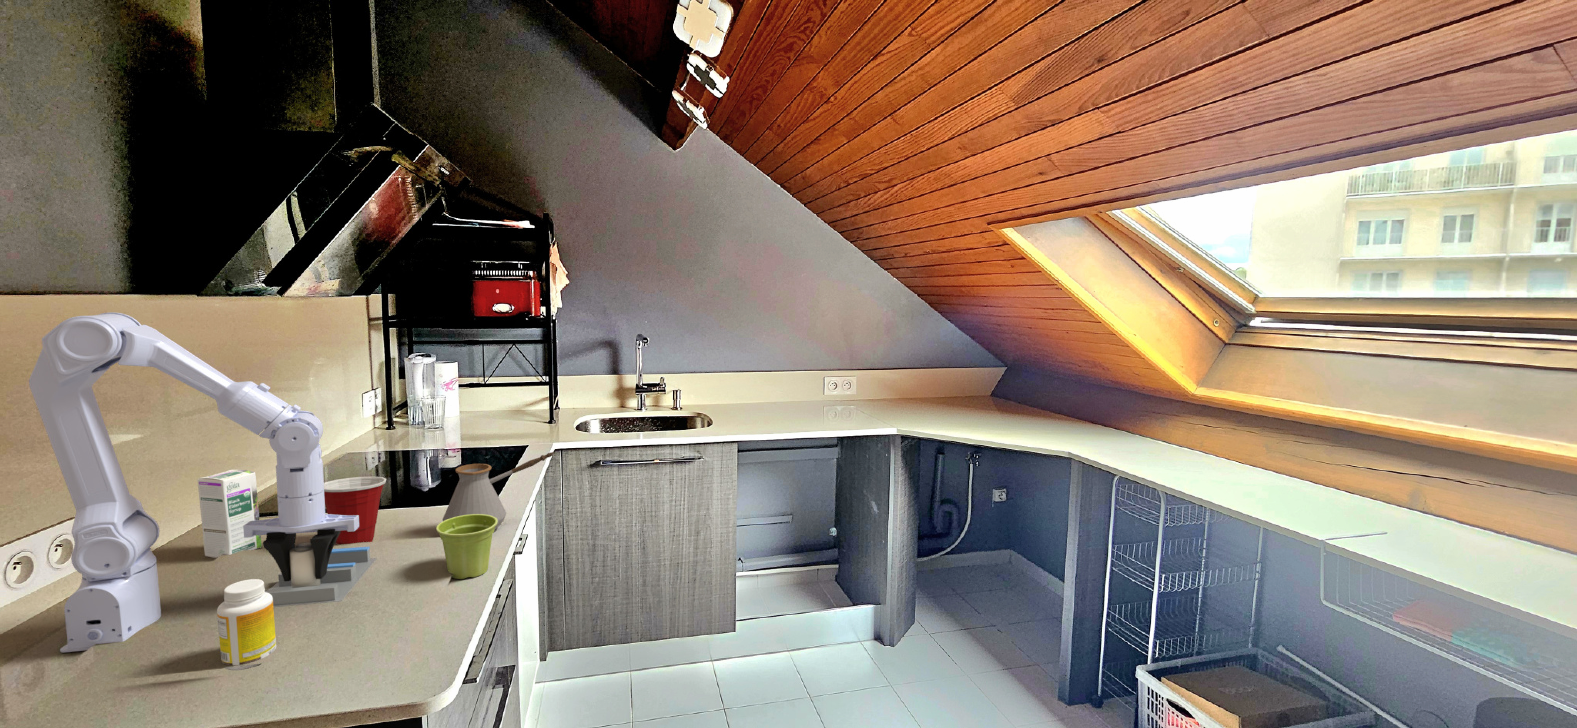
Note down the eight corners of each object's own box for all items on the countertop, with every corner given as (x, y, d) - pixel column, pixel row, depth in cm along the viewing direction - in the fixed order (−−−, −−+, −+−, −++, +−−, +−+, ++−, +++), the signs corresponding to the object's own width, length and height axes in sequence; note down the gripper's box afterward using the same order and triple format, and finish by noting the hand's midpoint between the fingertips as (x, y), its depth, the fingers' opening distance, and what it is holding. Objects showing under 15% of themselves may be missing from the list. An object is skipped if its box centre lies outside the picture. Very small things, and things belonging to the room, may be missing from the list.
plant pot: (510, 564, 115) (509, 517, 114) (471, 588, 106) (469, 537, 105) (466, 557, 118) (465, 511, 117) (424, 579, 109) (422, 529, 108)
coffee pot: (440, 544, 123) (437, 467, 121) (445, 523, 133) (443, 452, 131) (559, 530, 131) (558, 458, 129) (555, 512, 142) (554, 445, 140)
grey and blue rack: (341, 607, 99) (340, 586, 98) (248, 615, 96) (246, 594, 95) (377, 563, 114) (376, 545, 114) (298, 568, 111) (297, 550, 110)
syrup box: (230, 560, 113) (224, 479, 112) (203, 556, 115) (196, 476, 113) (262, 547, 119) (257, 470, 117) (236, 544, 120) (230, 468, 118)
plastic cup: (396, 529, 129) (393, 470, 128) (380, 550, 119) (377, 487, 118) (332, 533, 126) (329, 474, 125) (310, 556, 116) (306, 491, 114)
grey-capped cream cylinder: (314, 590, 99) (312, 549, 99) (287, 592, 98) (284, 550, 98) (324, 579, 103) (322, 539, 102) (298, 581, 102) (295, 541, 101)
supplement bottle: (286, 647, 88) (282, 575, 87) (257, 671, 82) (252, 595, 81) (242, 648, 87) (236, 576, 86) (209, 673, 82) (203, 596, 80)
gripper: (364, 482, 105) (368, 562, 106) (258, 486, 101) (263, 570, 102) (347, 496, 98) (351, 581, 100) (233, 501, 94) (239, 590, 96)
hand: (305, 577), depth 101 cm, fingers closed on grey-capped cream cylinder, 4 cm apart
